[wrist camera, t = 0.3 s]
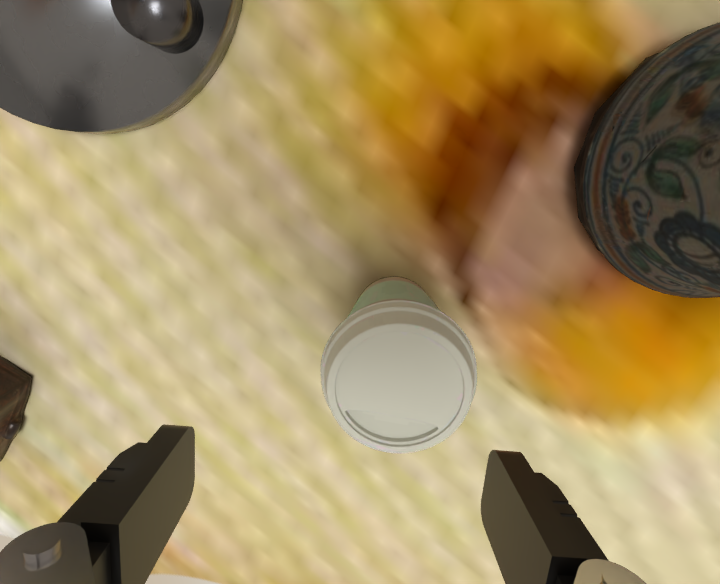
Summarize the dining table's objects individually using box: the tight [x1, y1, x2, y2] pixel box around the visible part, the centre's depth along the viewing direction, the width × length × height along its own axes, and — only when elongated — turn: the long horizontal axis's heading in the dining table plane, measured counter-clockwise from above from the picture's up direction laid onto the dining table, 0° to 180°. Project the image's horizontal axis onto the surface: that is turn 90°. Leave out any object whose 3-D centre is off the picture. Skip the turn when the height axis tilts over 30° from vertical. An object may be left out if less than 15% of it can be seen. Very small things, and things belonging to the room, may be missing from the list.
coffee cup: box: [321, 277, 477, 453], centre depth 28 cm, size 8×8×12 cm
